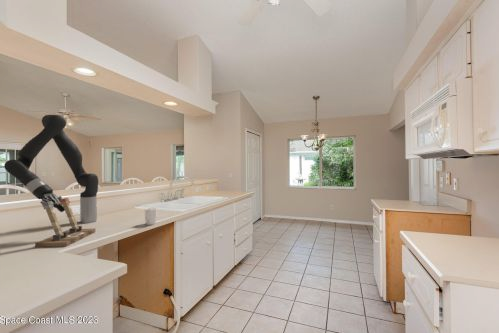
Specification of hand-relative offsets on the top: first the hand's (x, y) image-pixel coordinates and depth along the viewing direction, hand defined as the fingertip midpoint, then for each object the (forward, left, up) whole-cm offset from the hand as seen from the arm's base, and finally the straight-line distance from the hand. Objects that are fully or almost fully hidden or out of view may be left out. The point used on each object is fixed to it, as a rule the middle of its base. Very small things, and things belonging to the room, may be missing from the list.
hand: (63, 210), depth 126 cm
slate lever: (+12, +6, -10) cm, 17 cm away
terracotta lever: (0, +6, -10) cm, 12 cm away
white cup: (-23, +39, -14) cm, 48 cm away
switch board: (+6, +6, -14) cm, 16 cm away
